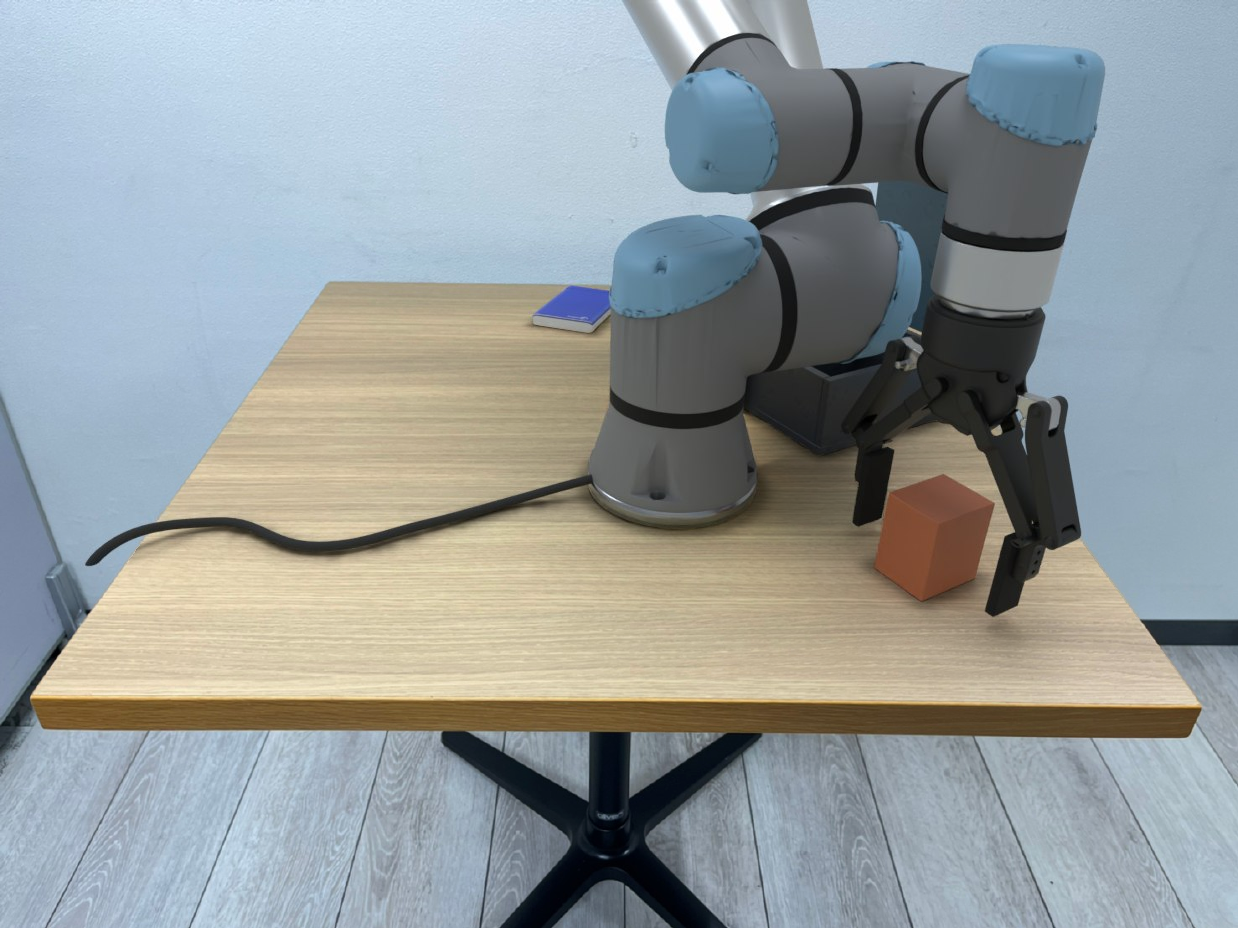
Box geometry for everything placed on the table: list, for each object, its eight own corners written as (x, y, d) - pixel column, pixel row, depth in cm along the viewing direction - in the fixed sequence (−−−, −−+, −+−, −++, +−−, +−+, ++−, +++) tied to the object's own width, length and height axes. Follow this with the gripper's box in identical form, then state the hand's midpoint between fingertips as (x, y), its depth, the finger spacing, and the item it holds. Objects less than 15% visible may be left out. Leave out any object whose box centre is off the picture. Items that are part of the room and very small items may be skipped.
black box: (818, 456, 88) (830, 381, 84) (738, 405, 98) (745, 336, 94) (939, 419, 96) (955, 349, 92) (854, 375, 106) (865, 310, 102)
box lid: (985, 165, 83) (1033, 155, 85) (882, 141, 92) (929, 132, 95) (953, 346, 92) (997, 331, 95) (862, 307, 101) (905, 295, 104)
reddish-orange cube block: (921, 601, 69) (939, 524, 65) (873, 567, 72) (888, 492, 69) (975, 578, 72) (995, 502, 68) (926, 546, 75) (943, 473, 72)
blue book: (592, 321, 114) (624, 292, 125) (532, 313, 116) (568, 284, 127) (592, 333, 115) (623, 303, 125) (532, 324, 117) (568, 295, 128)
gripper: (1204, 351, 53) (1104, 636, 64) (890, 247, 72) (852, 480, 82) (1126, 376, 50) (1034, 672, 60) (818, 259, 69) (788, 501, 79)
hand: (929, 562), depth 71 cm, fingers open, 13 cm apart
